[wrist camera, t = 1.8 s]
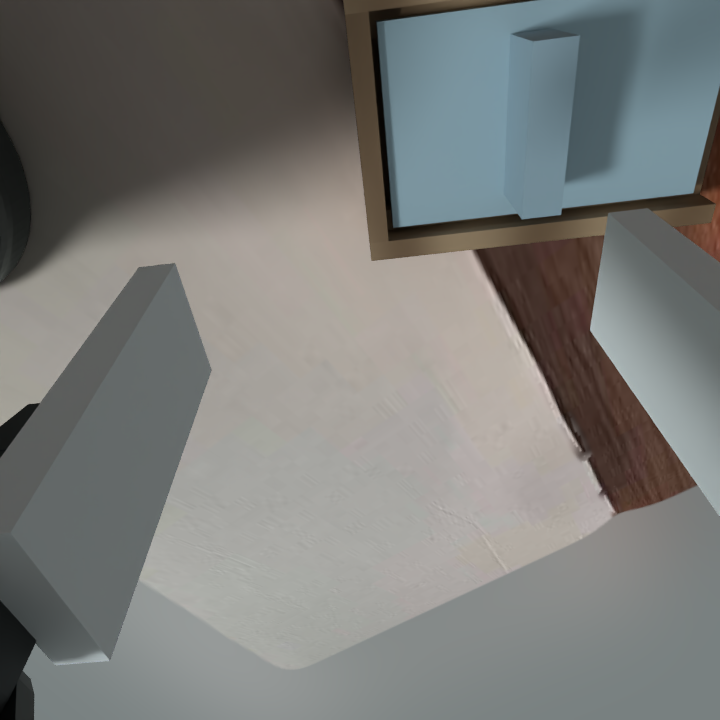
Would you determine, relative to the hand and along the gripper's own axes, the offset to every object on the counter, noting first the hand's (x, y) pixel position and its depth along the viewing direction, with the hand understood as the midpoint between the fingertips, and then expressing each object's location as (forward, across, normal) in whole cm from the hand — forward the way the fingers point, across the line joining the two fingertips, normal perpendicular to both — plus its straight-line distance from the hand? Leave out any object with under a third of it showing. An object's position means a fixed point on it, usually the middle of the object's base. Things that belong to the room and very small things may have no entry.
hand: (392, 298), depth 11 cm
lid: (+15, +8, 0) cm, 17 cm away
